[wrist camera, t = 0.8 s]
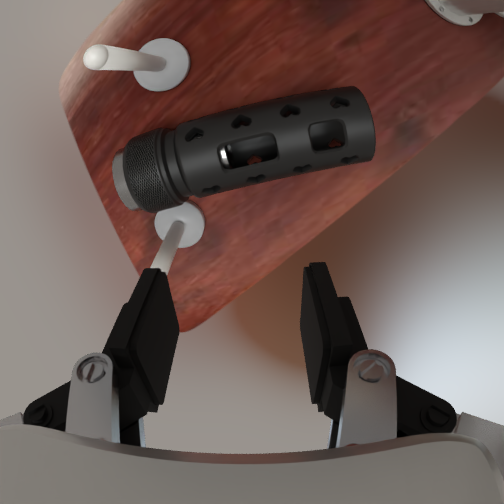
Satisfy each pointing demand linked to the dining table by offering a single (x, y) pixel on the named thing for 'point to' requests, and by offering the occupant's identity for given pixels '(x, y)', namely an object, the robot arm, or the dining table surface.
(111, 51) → the post
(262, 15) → the dining table surface
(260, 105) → the muzzle brake
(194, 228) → the cord post
